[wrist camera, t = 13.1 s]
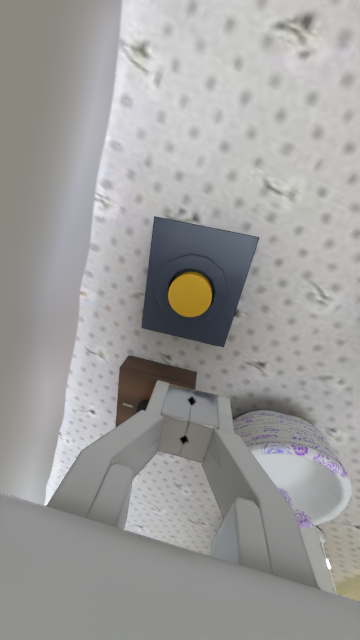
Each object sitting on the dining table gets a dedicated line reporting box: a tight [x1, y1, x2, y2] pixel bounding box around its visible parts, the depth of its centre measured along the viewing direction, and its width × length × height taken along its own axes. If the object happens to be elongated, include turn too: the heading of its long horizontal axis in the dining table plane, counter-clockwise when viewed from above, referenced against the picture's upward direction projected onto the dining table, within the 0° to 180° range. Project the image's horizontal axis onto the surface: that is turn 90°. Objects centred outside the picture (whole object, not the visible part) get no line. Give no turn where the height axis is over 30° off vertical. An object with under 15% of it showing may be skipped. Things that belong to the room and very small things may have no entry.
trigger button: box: [168, 272, 212, 317], centre depth 18 cm, size 4×4×2 cm
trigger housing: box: [142, 217, 259, 347], centre depth 20 cm, size 12×10×4 cm
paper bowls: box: [233, 410, 352, 528], centre depth 26 cm, size 15×15×8 cm
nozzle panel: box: [116, 356, 197, 427], centre depth 28 cm, size 12×10×3 cm
